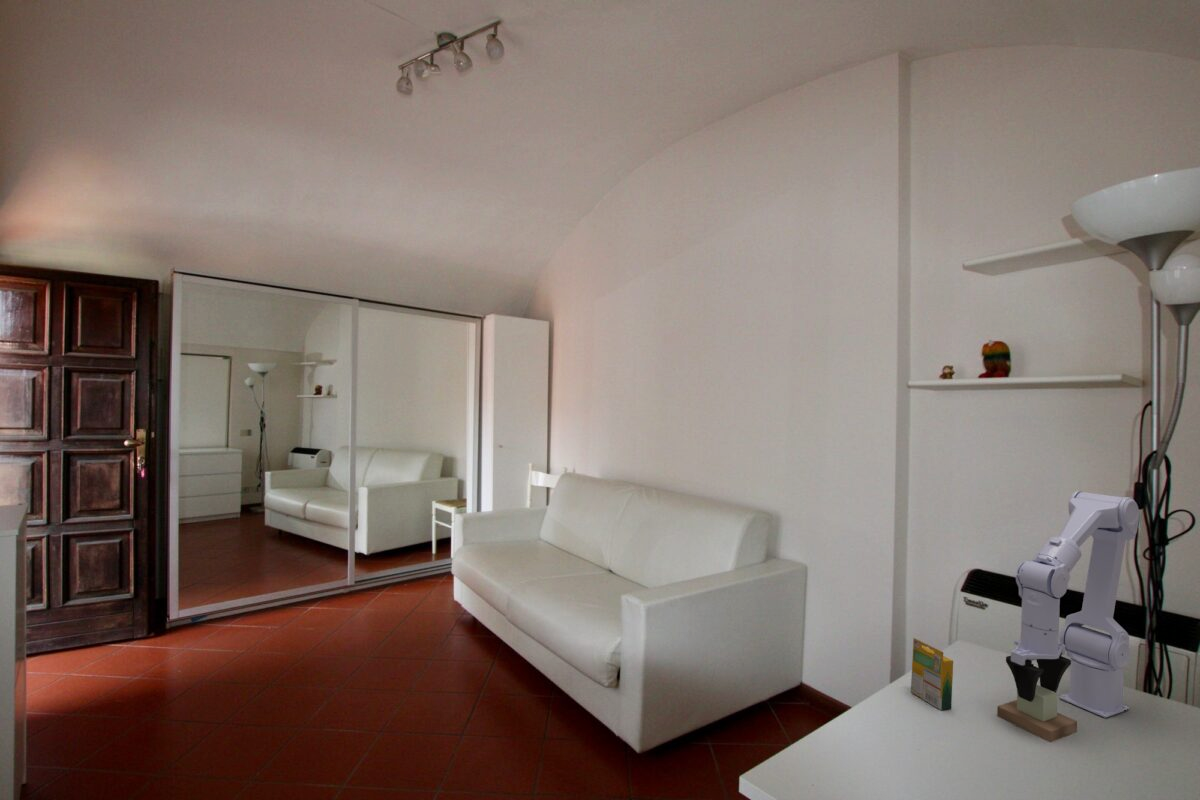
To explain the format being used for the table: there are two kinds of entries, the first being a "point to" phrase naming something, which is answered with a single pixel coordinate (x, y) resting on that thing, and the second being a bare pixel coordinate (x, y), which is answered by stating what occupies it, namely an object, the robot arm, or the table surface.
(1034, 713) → the sage cube
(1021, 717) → the walnut base block
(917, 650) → the crayon box
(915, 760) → the table surface
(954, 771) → the table surface
